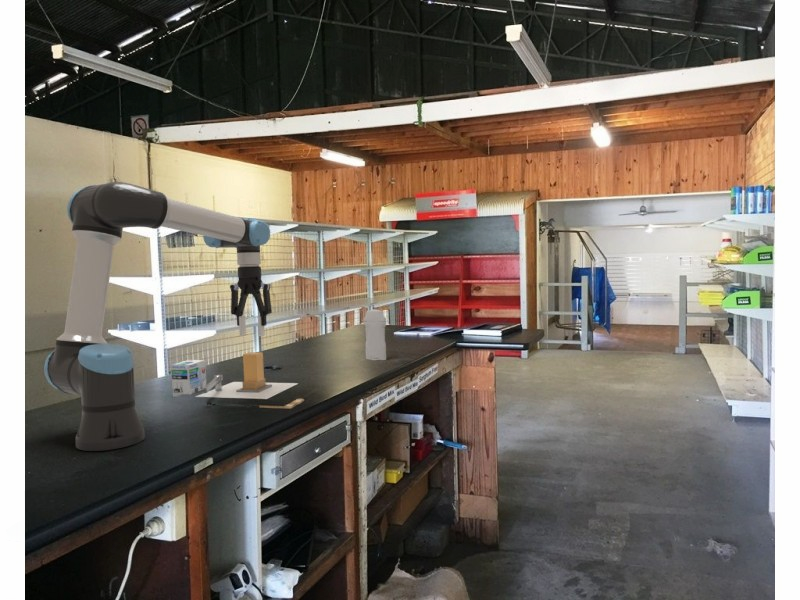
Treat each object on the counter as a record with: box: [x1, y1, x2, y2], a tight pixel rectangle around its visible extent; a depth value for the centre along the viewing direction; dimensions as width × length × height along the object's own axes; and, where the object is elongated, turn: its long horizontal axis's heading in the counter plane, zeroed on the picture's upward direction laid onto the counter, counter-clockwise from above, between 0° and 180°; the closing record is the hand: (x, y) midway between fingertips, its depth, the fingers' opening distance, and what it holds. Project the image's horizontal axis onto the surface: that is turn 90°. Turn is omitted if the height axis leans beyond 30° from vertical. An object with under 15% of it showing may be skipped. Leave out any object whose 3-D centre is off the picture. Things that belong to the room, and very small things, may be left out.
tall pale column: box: [363, 308, 387, 361], centre depth 261 cm, size 11×4×22 cm, turn 67°
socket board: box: [194, 381, 299, 400], centre depth 199 cm, size 24×25×4 cm
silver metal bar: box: [202, 374, 224, 394], centre depth 190 cm, size 3×22×2 cm, turn 6°
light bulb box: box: [170, 359, 207, 398], centre depth 200 cm, size 11×7×11 cm, turn 168°
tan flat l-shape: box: [259, 398, 305, 409], centre depth 182 cm, size 10×10×1 cm
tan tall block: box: [241, 351, 267, 390], centre depth 200 cm, size 7×5×12 cm
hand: (252, 335), depth 199 cm, fingers open, 6 cm apart
